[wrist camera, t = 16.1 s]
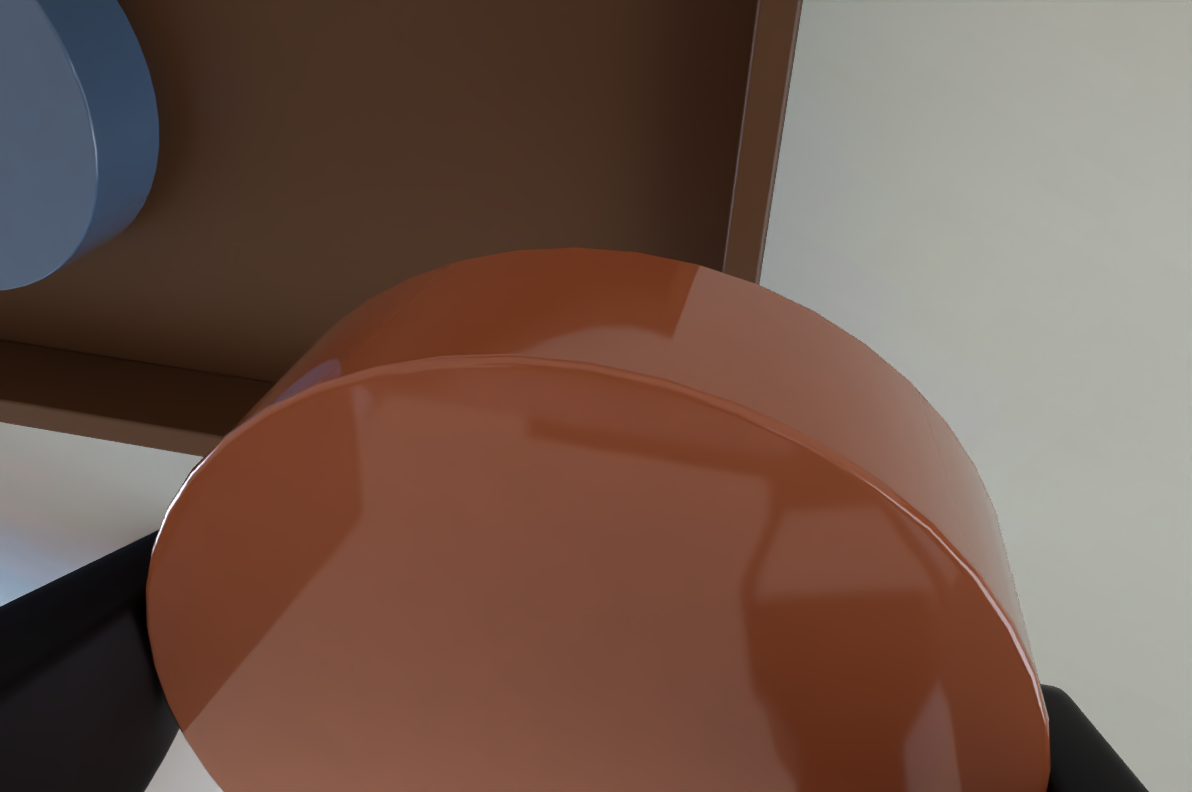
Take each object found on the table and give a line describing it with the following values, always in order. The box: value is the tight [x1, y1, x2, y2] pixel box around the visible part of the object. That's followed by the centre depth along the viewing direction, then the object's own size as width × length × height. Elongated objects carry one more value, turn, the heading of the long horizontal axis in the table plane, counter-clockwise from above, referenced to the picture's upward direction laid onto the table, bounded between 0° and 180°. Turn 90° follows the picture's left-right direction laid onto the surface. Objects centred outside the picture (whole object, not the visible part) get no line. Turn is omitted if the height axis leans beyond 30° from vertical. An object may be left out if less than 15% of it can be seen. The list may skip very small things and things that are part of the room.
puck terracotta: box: [146, 247, 1051, 792], centre depth 8 cm, size 7×7×2 cm
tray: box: [0, 0, 803, 457], centre depth 16 cm, size 20×13×3 cm, turn 87°
